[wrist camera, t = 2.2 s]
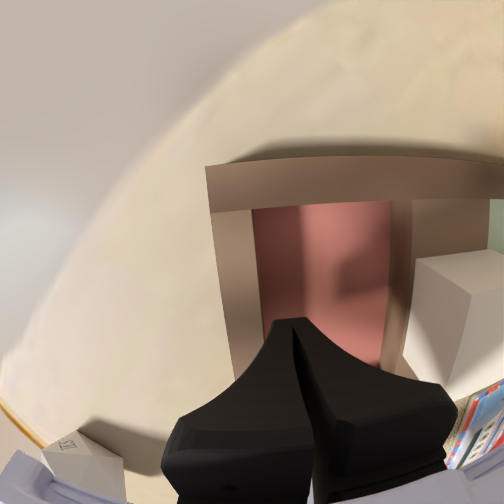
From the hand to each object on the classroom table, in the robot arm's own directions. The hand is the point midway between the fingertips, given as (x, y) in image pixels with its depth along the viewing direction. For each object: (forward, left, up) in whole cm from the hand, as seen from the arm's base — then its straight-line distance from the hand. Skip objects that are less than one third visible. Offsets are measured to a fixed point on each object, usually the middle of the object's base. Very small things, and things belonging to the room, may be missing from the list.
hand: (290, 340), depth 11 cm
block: (0, -8, -1) cm, 8 cm away
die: (-15, +18, -4) cm, 24 cm away
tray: (0, -11, -3) cm, 12 cm away
